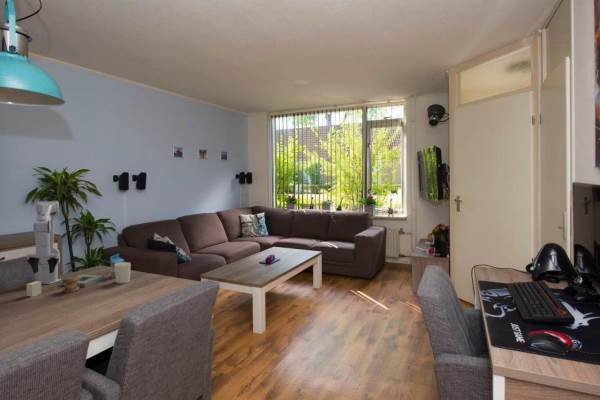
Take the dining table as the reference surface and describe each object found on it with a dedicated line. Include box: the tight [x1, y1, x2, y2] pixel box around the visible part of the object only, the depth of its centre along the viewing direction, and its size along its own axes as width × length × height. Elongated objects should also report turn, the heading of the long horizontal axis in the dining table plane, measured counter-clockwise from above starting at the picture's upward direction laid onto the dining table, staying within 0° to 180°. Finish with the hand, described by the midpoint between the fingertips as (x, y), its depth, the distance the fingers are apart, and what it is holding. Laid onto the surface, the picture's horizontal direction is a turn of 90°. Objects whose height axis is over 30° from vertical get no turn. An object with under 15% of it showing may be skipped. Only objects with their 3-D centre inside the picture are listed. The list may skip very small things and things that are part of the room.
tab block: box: [25, 280, 42, 298], centre depth 168 cm, size 3×5×6 cm, turn 172°
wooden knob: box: [61, 276, 80, 294], centre depth 175 cm, size 7×7×6 cm
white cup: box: [115, 261, 131, 284], centre depth 190 cm, size 8×8×10 cm
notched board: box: [60, 273, 105, 288], centre depth 188 cm, size 14×14×2 cm
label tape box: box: [110, 253, 126, 279], centre depth 202 cm, size 9×4×12 cm, turn 179°
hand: (43, 272), depth 170 cm, fingers open, 7 cm apart
